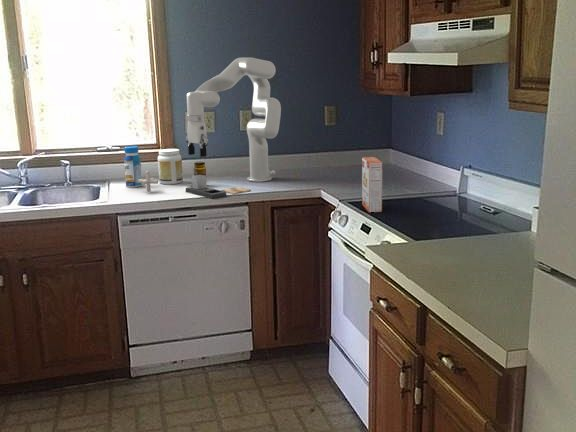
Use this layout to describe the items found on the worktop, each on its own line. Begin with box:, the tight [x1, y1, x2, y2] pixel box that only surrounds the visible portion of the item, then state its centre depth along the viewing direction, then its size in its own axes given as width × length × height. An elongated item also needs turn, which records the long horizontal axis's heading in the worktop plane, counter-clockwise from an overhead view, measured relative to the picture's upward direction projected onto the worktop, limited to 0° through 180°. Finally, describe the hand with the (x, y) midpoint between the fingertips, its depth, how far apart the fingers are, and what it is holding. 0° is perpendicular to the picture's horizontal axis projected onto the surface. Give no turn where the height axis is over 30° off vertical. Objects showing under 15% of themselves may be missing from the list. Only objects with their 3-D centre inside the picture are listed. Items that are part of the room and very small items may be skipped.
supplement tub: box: [157, 148, 184, 185], centre depth 336 cm, size 12×12×17 cm
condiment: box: [188, 161, 210, 187], centre depth 327 cm, size 7×8×12 cm
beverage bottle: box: [123, 145, 143, 188], centre depth 328 cm, size 8×8×20 cm
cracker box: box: [361, 156, 383, 214], centre depth 270 cm, size 14×6×21 cm, turn 5°
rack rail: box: [185, 186, 227, 199], centre depth 308 cm, size 8×22×2 cm, turn 42°
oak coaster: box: [220, 186, 252, 195], centre depth 314 cm, size 10×10×1 cm
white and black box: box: [191, 175, 208, 190], centre depth 311 cm, size 5×5×8 cm
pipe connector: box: [138, 170, 159, 193], centre depth 315 cm, size 10×10×10 cm
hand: (197, 155), depth 308 cm, fingers open, 9 cm apart
